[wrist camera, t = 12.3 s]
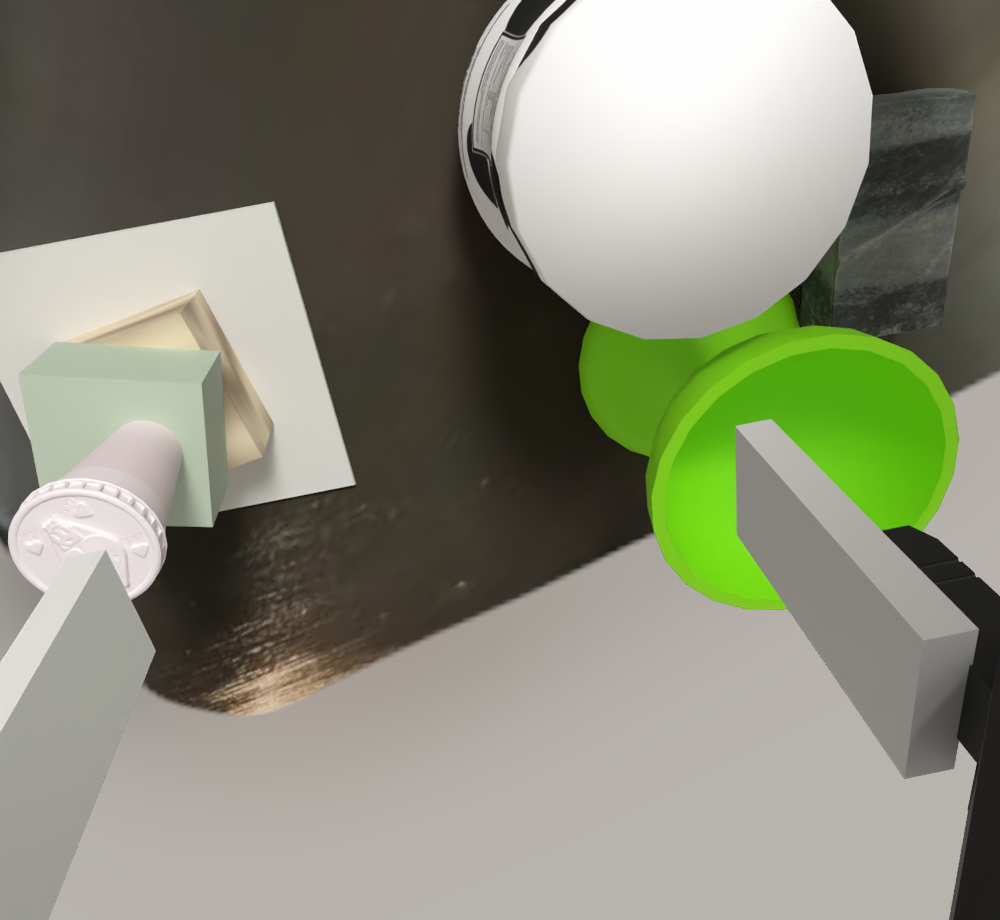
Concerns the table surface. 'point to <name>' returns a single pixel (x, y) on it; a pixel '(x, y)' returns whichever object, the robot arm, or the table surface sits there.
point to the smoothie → (103, 509)
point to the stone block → (898, 219)
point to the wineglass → (791, 405)
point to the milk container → (666, 151)
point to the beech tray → (197, 329)
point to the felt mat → (235, 304)
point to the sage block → (131, 413)
